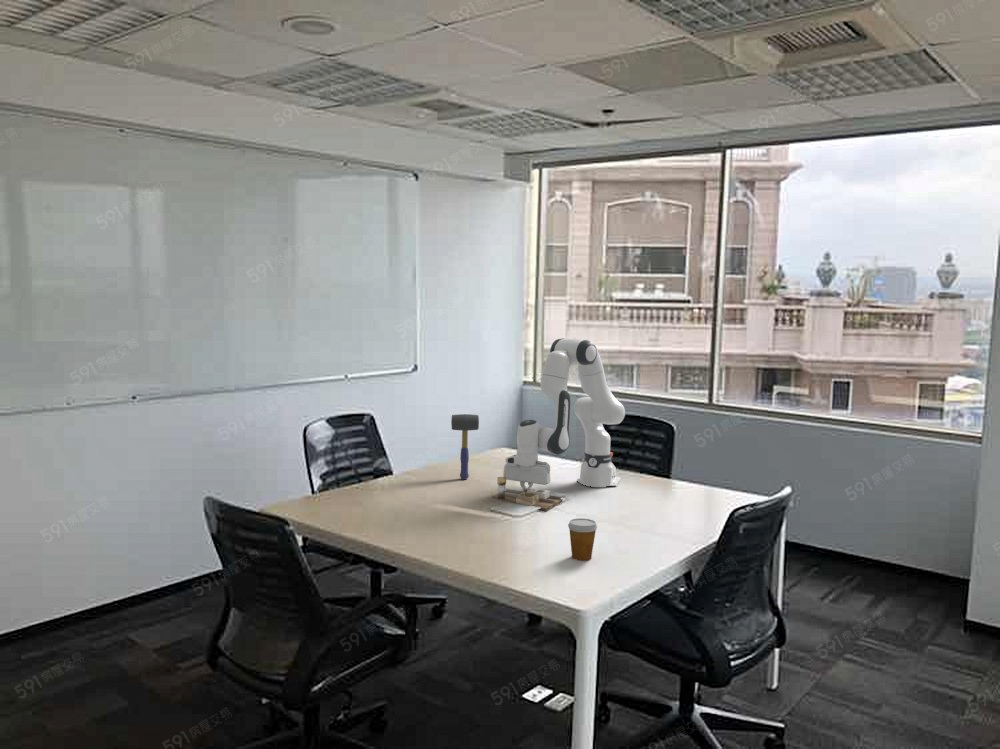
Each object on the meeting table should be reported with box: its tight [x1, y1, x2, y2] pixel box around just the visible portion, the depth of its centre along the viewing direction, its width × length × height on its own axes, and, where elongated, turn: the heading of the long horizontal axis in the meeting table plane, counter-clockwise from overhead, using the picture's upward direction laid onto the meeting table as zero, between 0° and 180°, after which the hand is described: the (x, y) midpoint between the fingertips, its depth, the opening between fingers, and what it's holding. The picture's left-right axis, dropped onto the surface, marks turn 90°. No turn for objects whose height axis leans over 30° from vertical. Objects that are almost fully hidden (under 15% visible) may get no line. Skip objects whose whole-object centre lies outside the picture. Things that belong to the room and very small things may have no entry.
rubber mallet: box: [451, 413, 480, 480], centre depth 363 cm, size 12×8×30 cm, turn 95°
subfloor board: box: [488, 488, 563, 513], centre depth 328 cm, size 16×26×2 cm, turn 62°
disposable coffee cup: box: [567, 517, 598, 562], centre depth 261 cm, size 10×10×12 cm
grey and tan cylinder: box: [496, 476, 507, 499], centre depth 328 cm, size 4×4×8 cm
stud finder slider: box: [527, 487, 551, 499], centre depth 329 cm, size 5×8×3 cm, turn 62°
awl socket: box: [515, 492, 540, 506], centre depth 322 cm, size 7×7×3 cm
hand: (526, 492), depth 332 cm, fingers closed
